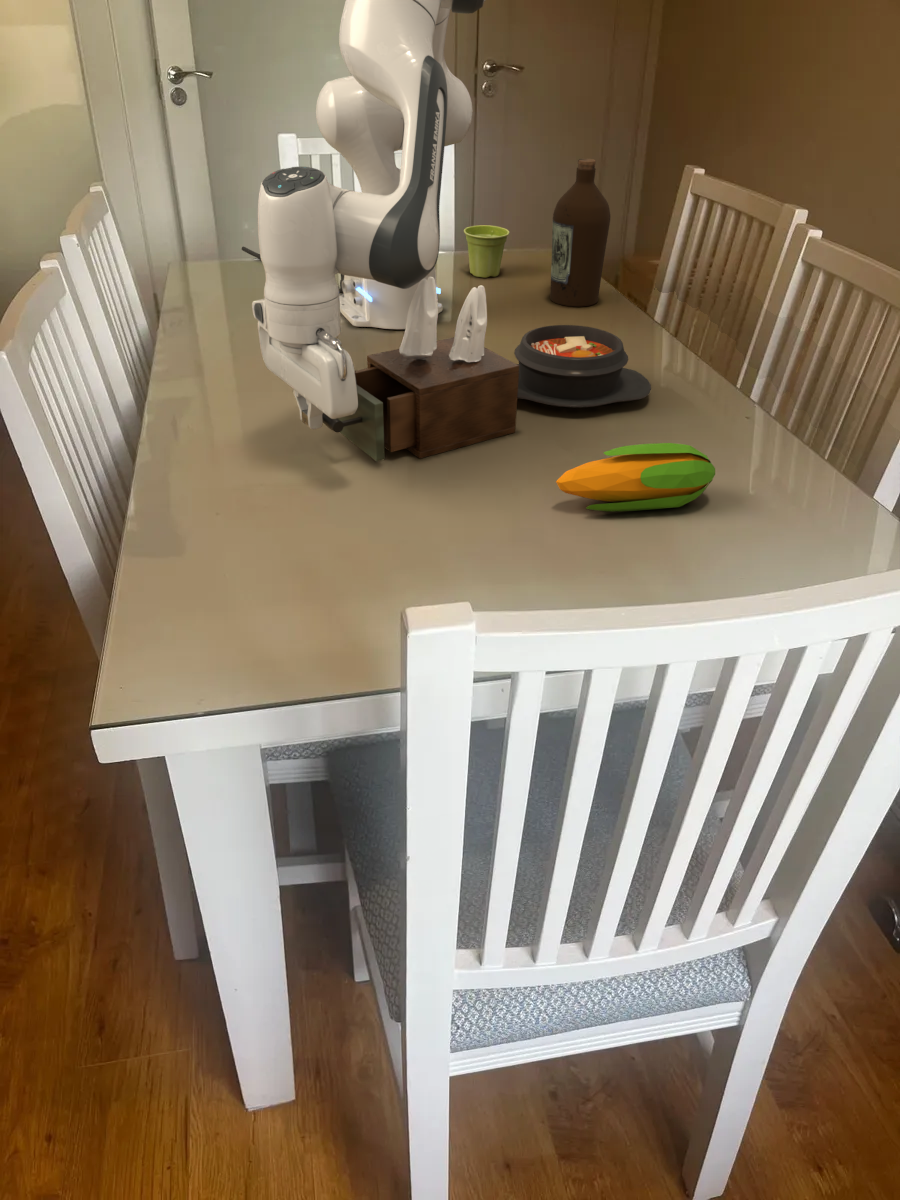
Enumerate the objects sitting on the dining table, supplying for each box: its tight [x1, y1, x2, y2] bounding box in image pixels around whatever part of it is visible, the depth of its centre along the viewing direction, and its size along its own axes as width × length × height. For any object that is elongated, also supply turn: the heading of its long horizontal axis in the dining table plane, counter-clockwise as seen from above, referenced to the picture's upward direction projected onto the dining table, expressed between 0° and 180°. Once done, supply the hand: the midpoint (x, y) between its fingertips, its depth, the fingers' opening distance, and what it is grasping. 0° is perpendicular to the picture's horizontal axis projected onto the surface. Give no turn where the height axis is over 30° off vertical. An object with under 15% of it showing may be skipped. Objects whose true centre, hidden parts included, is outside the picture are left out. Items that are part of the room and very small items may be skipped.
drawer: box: [322, 367, 416, 462], centre depth 123 cm, size 19×13×8 cm, turn 123°
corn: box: [555, 442, 716, 513], centre depth 110 cm, size 7×8×20 cm
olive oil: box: [549, 158, 611, 308], centre depth 171 cm, size 11×11×25 cm
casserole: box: [513, 324, 652, 409], centre depth 138 cm, size 25×19×8 cm
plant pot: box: [463, 224, 510, 279], centre depth 189 cm, size 9×9×9 cm
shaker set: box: [398, 277, 488, 362], centre depth 121 cm, size 12×4×11 cm, turn 99°
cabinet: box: [366, 336, 519, 459], centre depth 127 cm, size 16×14×10 cm
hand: (311, 424), depth 118 cm, fingers closed
